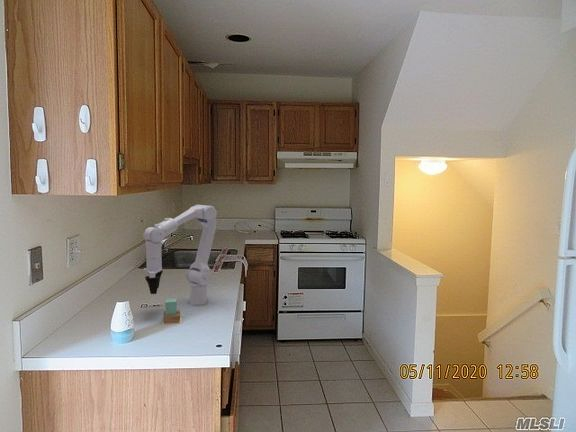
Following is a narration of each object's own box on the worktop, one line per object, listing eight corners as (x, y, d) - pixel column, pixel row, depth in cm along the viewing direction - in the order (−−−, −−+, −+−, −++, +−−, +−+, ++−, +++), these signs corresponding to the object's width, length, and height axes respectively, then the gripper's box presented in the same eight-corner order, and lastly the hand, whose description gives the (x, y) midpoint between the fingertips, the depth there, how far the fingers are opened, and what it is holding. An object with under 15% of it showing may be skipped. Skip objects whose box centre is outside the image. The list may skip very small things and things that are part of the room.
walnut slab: (164, 318, 155) (164, 310, 155) (180, 317, 156) (180, 309, 156) (163, 323, 149) (163, 316, 149) (179, 322, 150) (179, 315, 150)
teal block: (166, 311, 154) (166, 299, 153) (176, 310, 155) (176, 298, 154) (165, 315, 150) (165, 302, 150) (176, 314, 151) (176, 301, 150)
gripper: (145, 254, 163) (146, 286, 164) (140, 261, 149) (141, 296, 150) (163, 253, 164) (164, 285, 166) (160, 261, 150) (161, 295, 152)
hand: (154, 290), depth 158 cm, fingers open, 7 cm apart
